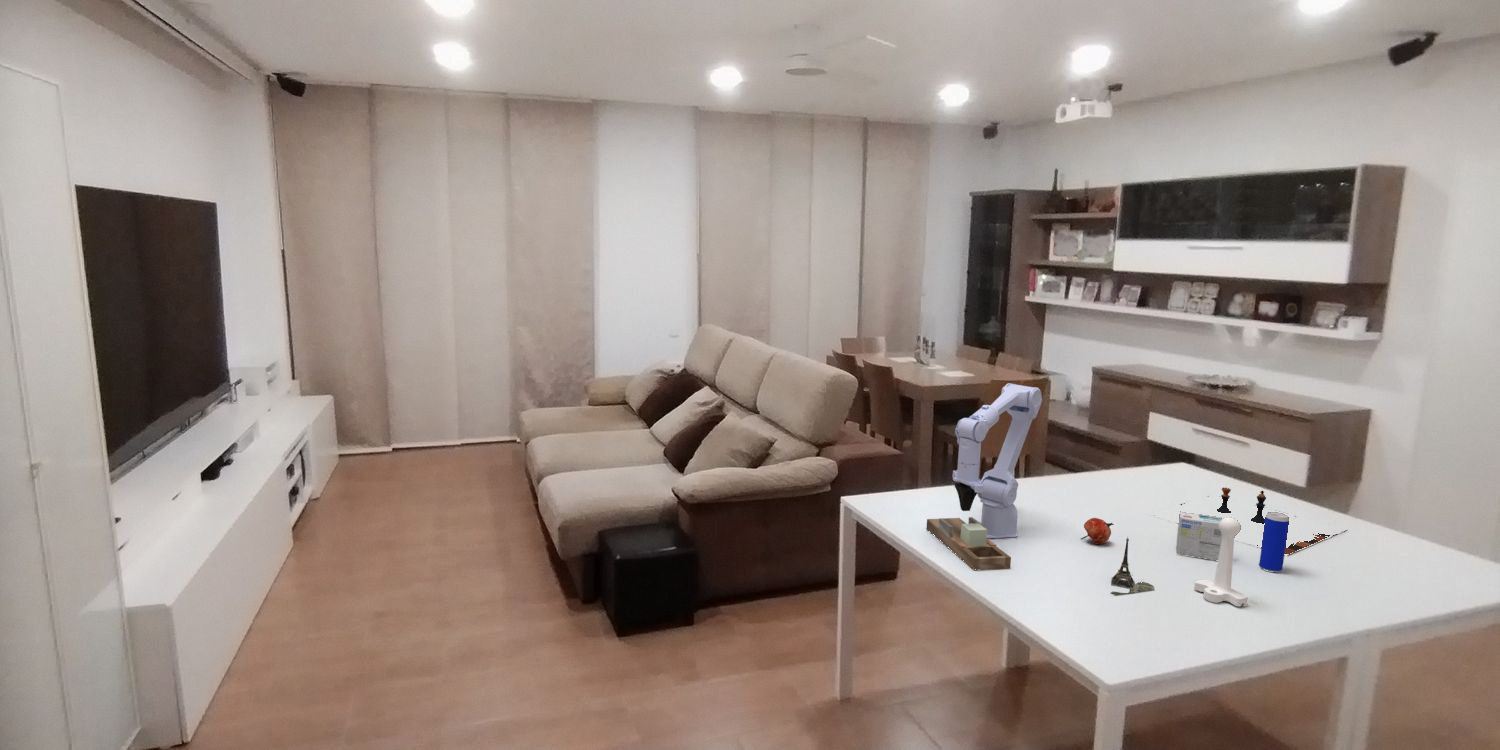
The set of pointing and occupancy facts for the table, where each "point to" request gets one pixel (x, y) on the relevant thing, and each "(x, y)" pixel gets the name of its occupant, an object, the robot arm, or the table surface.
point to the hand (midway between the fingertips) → (965, 510)
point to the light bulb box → (1199, 535)
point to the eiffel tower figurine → (1128, 579)
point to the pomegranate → (1098, 530)
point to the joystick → (1223, 569)
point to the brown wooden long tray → (973, 556)
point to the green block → (973, 534)
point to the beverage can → (1274, 541)
